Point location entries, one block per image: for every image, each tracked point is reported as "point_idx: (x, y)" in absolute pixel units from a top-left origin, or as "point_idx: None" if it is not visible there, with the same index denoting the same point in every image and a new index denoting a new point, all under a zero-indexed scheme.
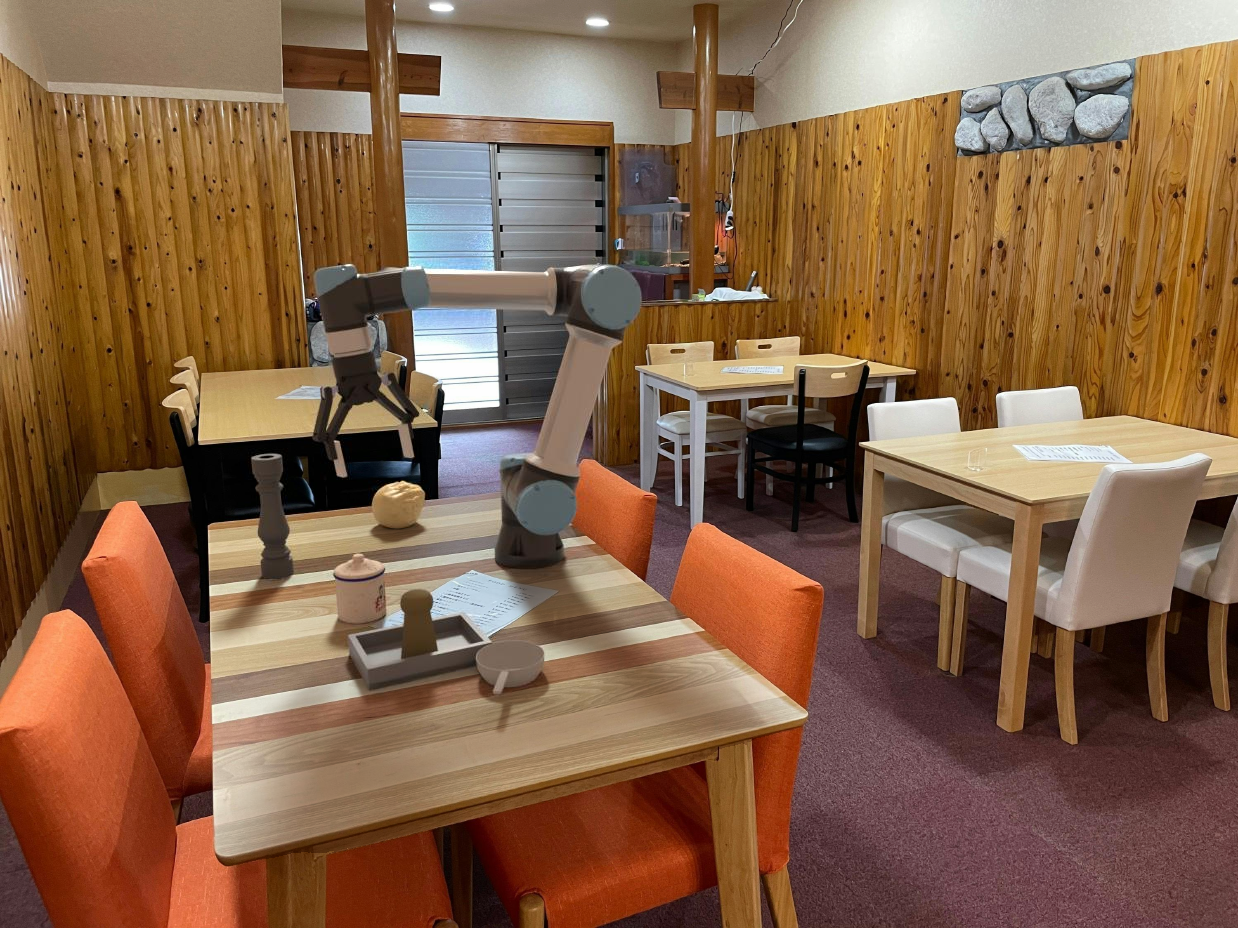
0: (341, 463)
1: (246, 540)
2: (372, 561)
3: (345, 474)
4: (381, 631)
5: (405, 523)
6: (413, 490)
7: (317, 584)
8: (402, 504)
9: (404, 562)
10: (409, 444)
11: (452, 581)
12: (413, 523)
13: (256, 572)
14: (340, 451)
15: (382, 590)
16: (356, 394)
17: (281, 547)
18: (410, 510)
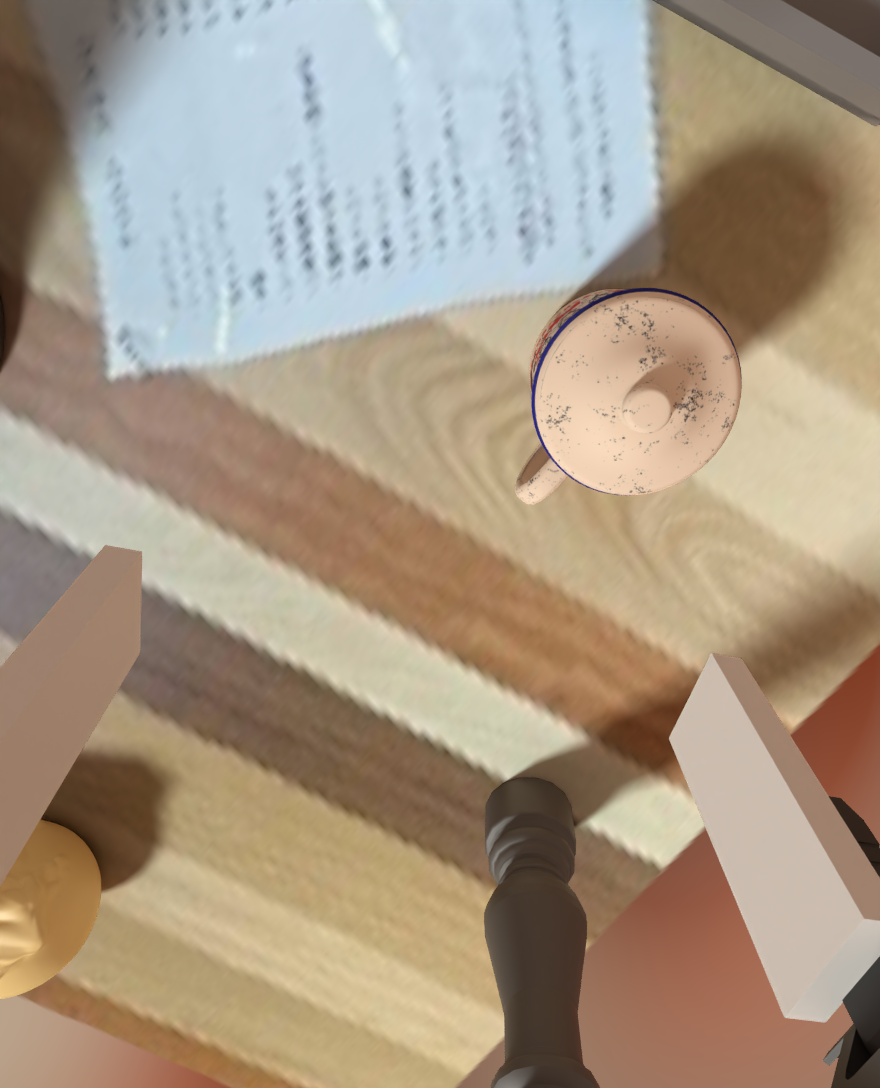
0: (779, 735)
1: (415, 1040)
2: (591, 375)
3: (729, 664)
4: (826, 26)
5: (45, 824)
6: None
7: (514, 674)
8: (12, 874)
9: (229, 609)
10: (71, 619)
11: (225, 350)
12: None
13: None
14: (816, 822)
15: (590, 301)
16: None
17: (530, 859)
18: None
